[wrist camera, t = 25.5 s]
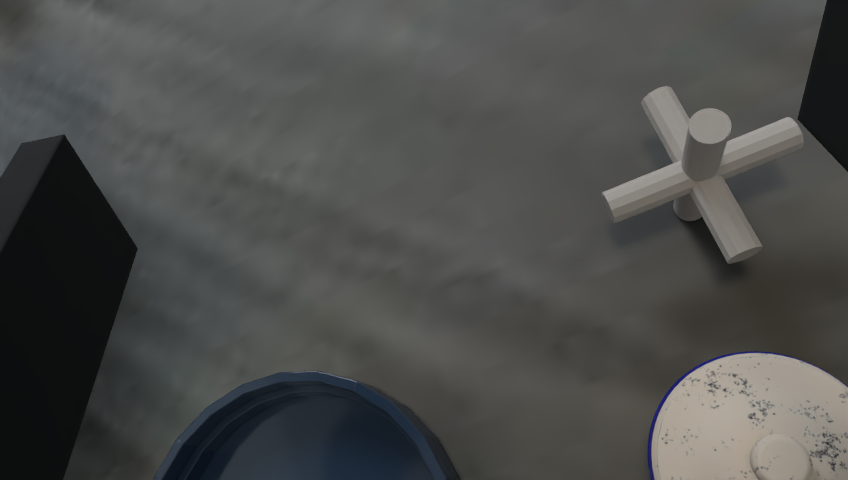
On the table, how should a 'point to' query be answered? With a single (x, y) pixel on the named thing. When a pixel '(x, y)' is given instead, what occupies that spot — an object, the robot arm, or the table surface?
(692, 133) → the pipe connector
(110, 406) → the table surface
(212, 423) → the bowl
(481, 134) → the table surface
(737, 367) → the teacup with lid
